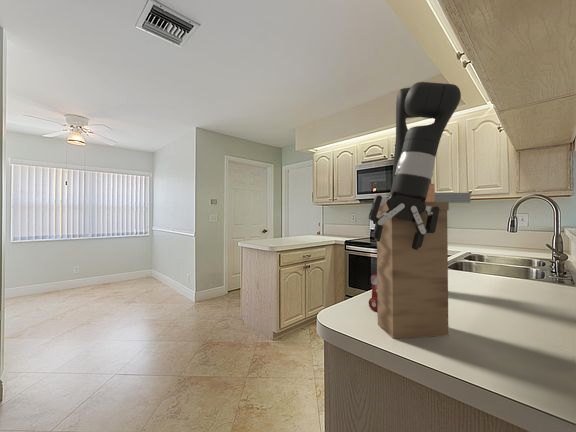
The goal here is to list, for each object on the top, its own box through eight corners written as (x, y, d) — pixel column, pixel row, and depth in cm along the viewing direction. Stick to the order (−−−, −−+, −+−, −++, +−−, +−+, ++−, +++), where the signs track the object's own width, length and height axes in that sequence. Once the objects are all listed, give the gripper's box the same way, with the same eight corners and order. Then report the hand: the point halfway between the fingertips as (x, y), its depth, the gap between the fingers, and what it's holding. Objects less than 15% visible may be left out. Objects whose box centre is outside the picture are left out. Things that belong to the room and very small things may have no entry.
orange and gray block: (398, 203, 69) (398, 186, 69) (457, 203, 70) (457, 186, 70) (411, 202, 63) (411, 183, 63) (476, 202, 64) (475, 184, 64)
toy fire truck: (399, 321, 71) (399, 283, 71) (364, 308, 82) (364, 274, 82) (414, 316, 75) (414, 280, 75) (379, 304, 85) (379, 272, 85)
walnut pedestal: (376, 323, 69) (375, 203, 69) (426, 321, 71) (424, 203, 71) (394, 339, 60) (392, 202, 61) (449, 336, 62) (448, 201, 62)
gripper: (438, 182, 61) (421, 248, 63) (377, 171, 63) (362, 235, 64) (454, 180, 54) (434, 255, 55) (384, 167, 55) (367, 241, 57)
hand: (395, 244), depth 60 cm, fingers open, 8 cm apart
